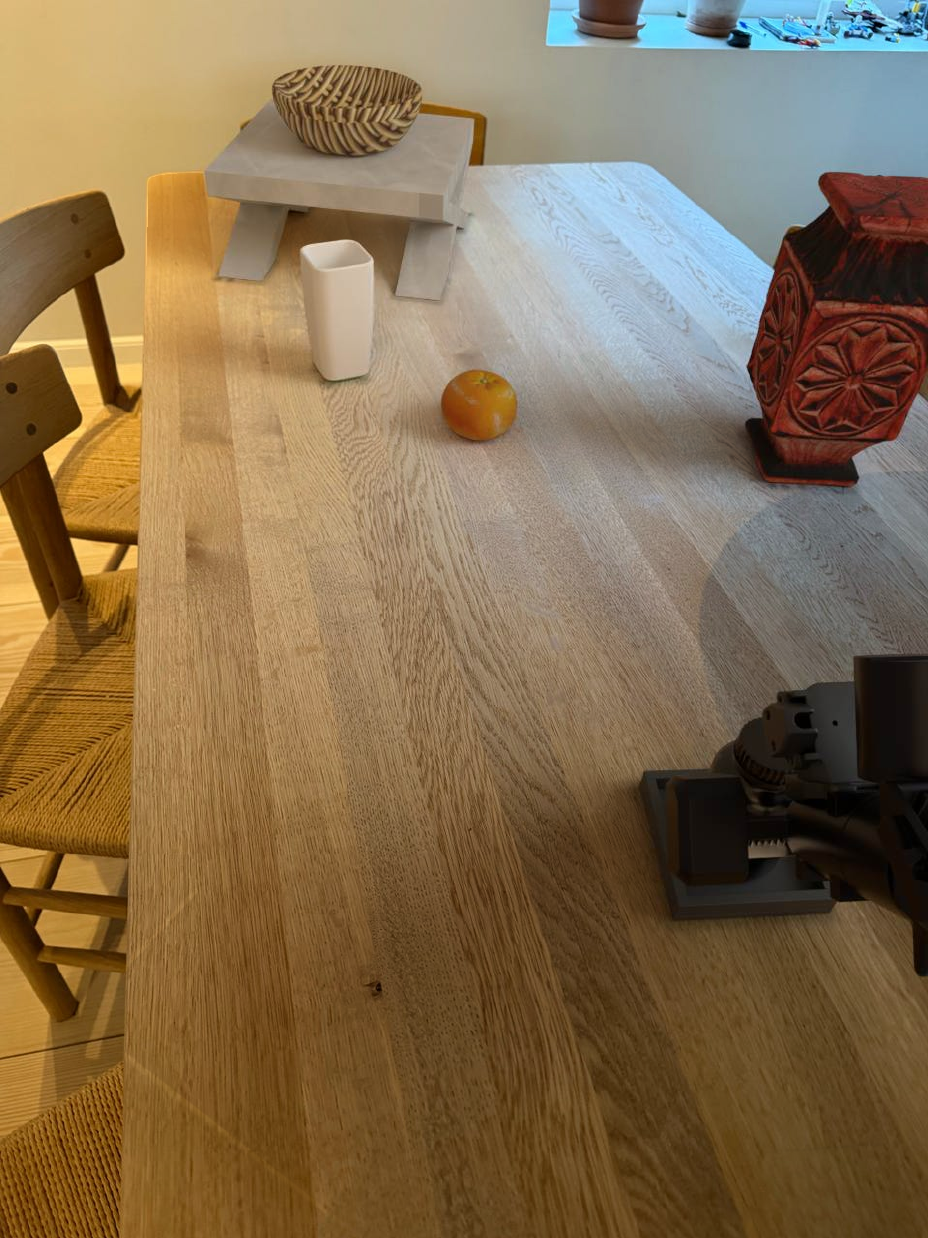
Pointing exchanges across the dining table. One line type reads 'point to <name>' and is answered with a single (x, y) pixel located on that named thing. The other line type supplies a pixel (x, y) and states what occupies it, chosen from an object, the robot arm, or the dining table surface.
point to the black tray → (727, 900)
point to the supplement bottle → (756, 782)
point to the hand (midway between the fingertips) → (766, 799)
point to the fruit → (479, 405)
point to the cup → (339, 307)
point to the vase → (842, 330)
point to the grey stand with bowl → (346, 168)
